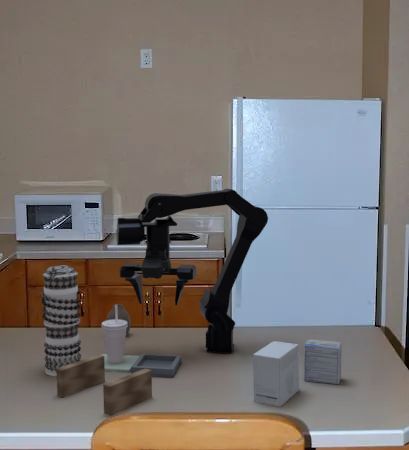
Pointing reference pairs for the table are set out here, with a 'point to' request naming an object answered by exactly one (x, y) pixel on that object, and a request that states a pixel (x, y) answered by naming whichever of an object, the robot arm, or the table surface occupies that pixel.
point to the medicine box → (322, 361)
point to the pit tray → (158, 364)
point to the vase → (120, 315)
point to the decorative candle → (61, 317)
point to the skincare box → (276, 373)
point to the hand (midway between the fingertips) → (158, 304)
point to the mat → (122, 366)
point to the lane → (113, 391)
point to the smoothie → (115, 338)
